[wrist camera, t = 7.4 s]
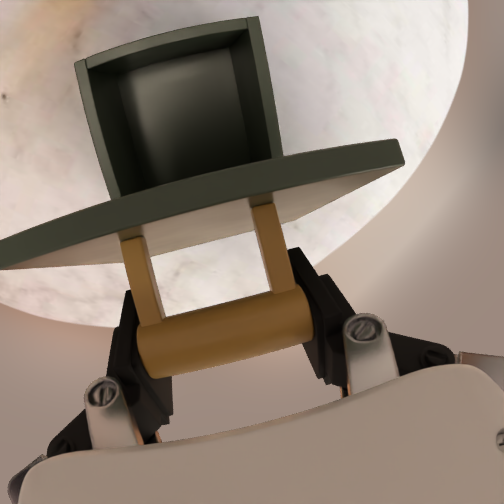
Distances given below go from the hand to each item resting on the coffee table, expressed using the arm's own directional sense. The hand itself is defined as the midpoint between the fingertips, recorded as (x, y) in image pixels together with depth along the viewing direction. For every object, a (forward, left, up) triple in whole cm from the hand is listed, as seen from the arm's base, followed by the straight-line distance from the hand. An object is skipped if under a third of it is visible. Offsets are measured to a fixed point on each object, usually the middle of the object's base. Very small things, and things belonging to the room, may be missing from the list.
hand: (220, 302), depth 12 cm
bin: (-3, -3, -20) cm, 21 cm away
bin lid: (-1, -1, -4) cm, 4 cm away
